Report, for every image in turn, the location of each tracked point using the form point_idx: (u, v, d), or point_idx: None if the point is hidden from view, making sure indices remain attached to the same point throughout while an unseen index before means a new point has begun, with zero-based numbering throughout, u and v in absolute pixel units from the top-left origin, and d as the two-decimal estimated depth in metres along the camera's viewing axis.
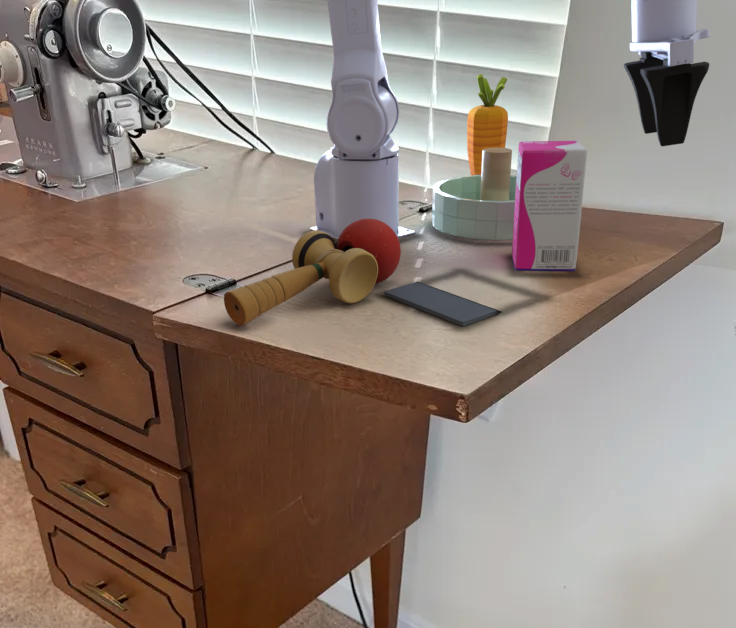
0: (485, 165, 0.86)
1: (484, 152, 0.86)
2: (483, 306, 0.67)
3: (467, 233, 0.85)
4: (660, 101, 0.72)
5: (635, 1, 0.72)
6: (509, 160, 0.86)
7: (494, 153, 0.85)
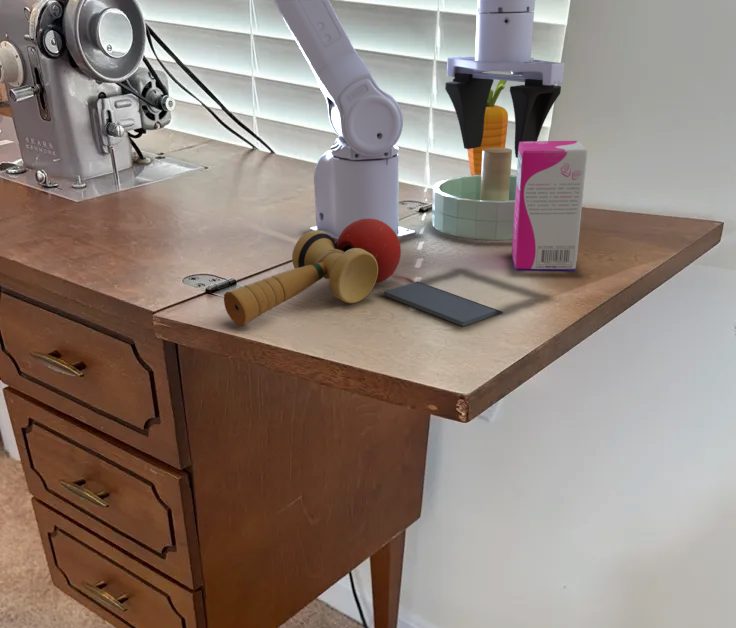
0: (485, 165, 0.86)
1: (484, 152, 0.86)
2: (483, 306, 0.67)
3: (467, 233, 0.85)
4: (528, 117, 0.80)
5: (493, 24, 0.78)
6: (509, 160, 0.86)
7: (494, 153, 0.85)
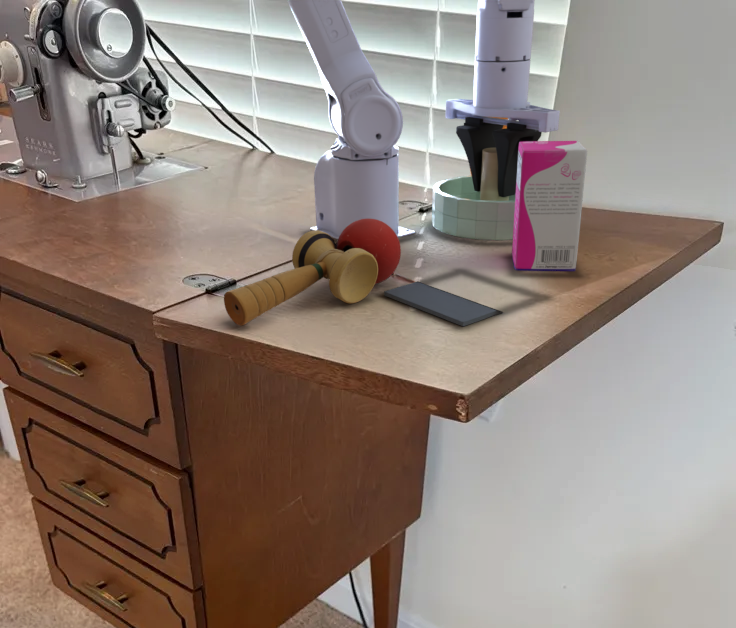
0: (485, 165, 0.86)
1: (484, 152, 0.86)
2: (483, 306, 0.67)
3: (467, 233, 0.85)
4: (510, 159, 0.83)
5: (490, 72, 0.80)
6: None
7: (494, 153, 0.85)
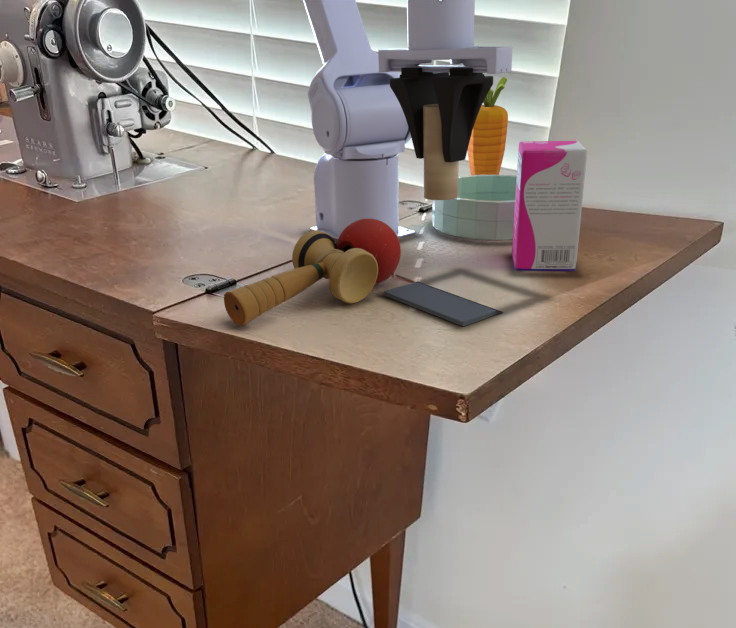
0: (426, 124, 0.70)
1: (424, 108, 0.70)
2: (483, 306, 0.67)
3: (467, 233, 0.85)
4: (455, 112, 0.67)
5: (424, 3, 0.64)
6: None
7: (436, 108, 0.69)
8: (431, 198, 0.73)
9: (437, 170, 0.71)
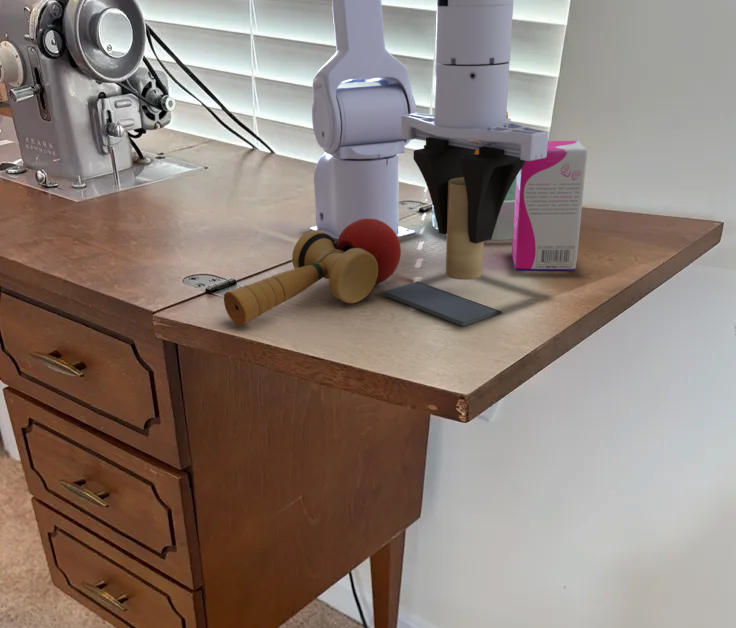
0: (451, 201, 0.65)
1: (450, 184, 0.65)
2: (483, 306, 0.67)
3: None
4: (483, 194, 0.63)
5: (455, 80, 0.59)
6: None
7: (463, 186, 0.64)
8: (453, 277, 0.68)
9: (461, 249, 0.67)
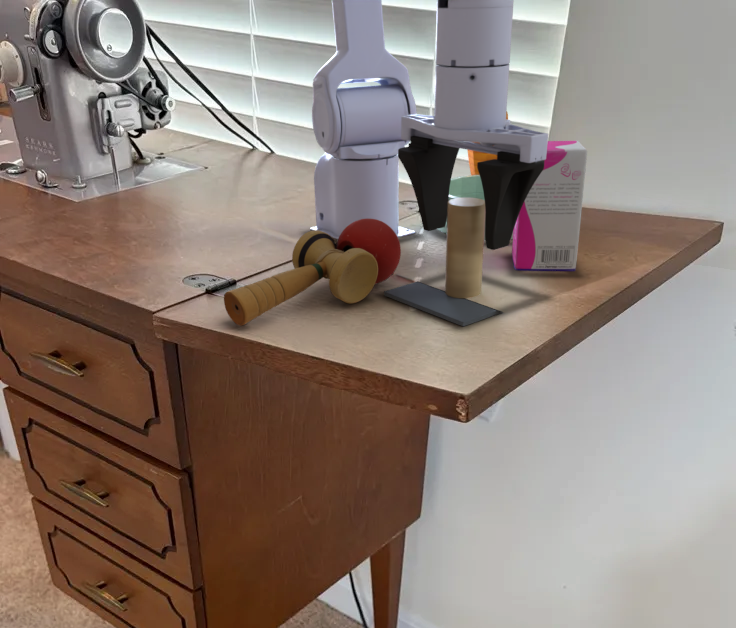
0: (451, 221, 0.66)
1: (449, 205, 0.66)
2: (483, 306, 0.67)
3: None
4: (501, 200, 0.61)
5: (455, 81, 0.59)
6: (482, 215, 0.66)
7: (462, 207, 0.65)
8: (453, 296, 0.69)
9: (460, 268, 0.67)
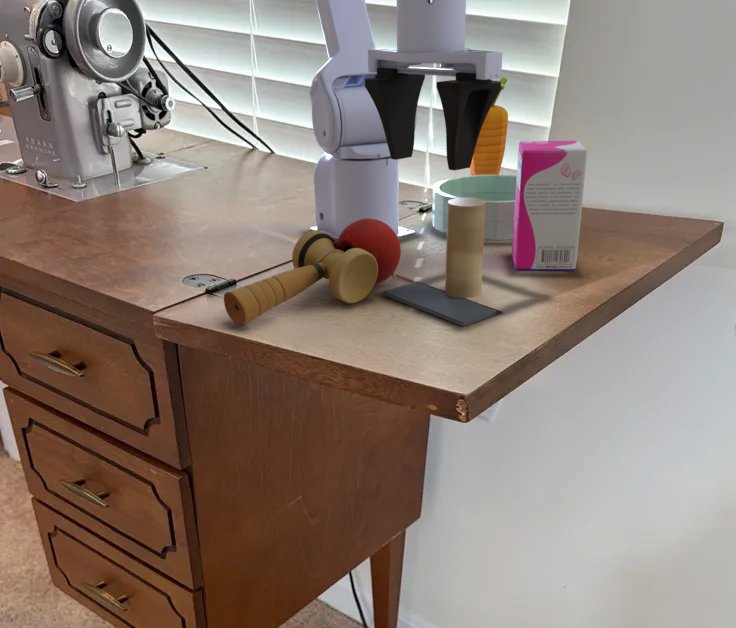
0: (451, 221, 0.66)
1: (449, 205, 0.66)
2: (483, 306, 0.67)
3: None
4: (460, 119, 0.65)
5: (414, 5, 0.63)
6: (482, 215, 0.66)
7: (462, 207, 0.65)
8: (453, 296, 0.69)
9: (460, 268, 0.67)
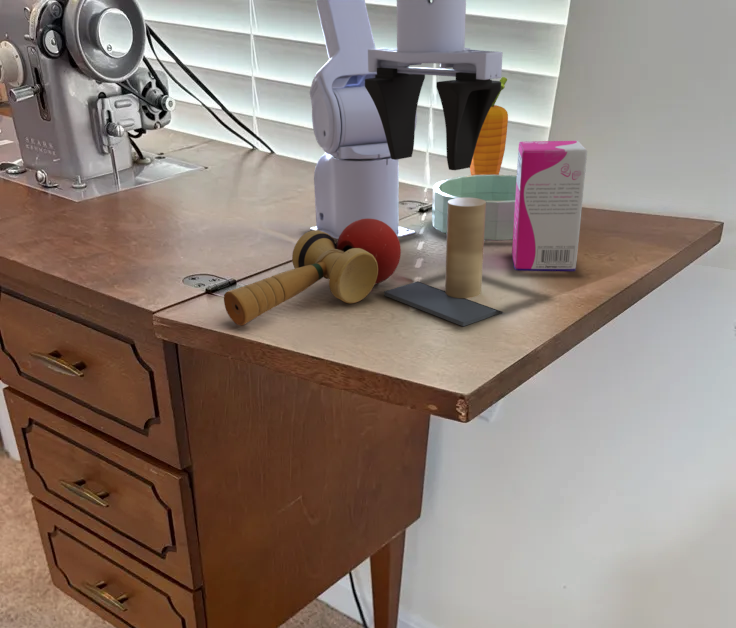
0: (451, 221, 0.66)
1: (449, 205, 0.66)
2: (483, 306, 0.67)
3: None
4: (460, 119, 0.65)
5: (414, 5, 0.63)
6: (482, 215, 0.66)
7: (462, 207, 0.65)
8: (453, 296, 0.69)
9: (460, 268, 0.67)
